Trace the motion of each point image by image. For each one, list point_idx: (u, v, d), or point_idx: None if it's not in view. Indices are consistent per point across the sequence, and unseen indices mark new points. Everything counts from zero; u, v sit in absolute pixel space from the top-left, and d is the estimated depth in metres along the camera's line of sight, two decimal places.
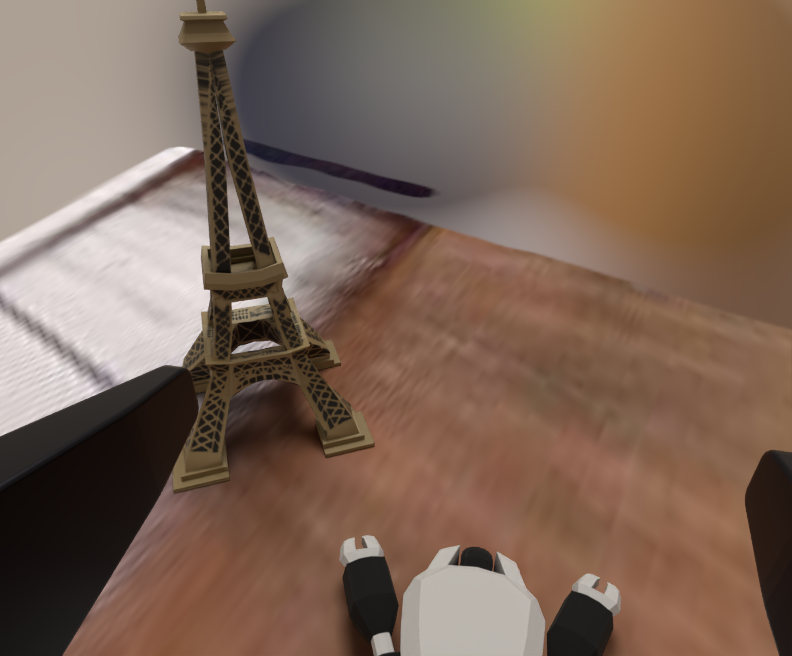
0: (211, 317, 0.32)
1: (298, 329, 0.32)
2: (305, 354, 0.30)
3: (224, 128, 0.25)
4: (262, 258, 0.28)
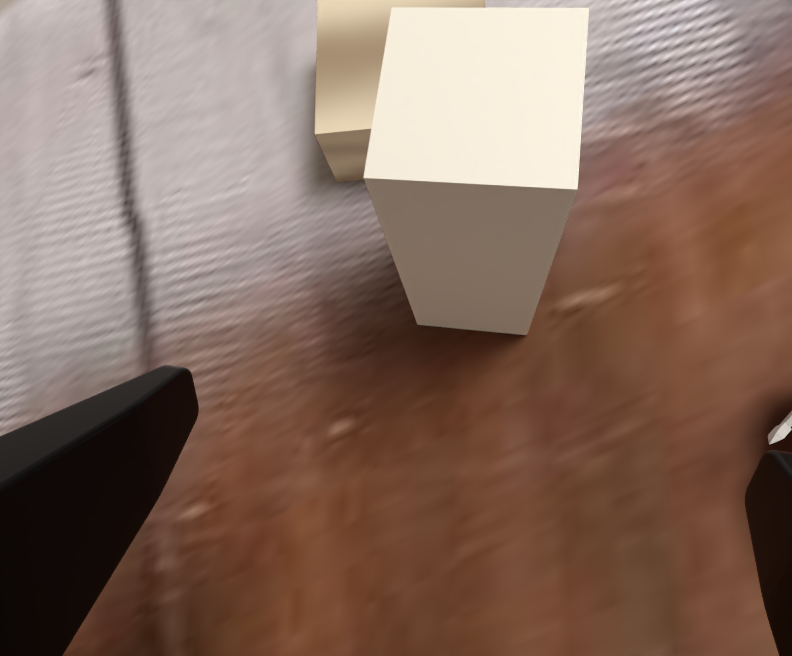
0: None
1: None
2: None
3: None
4: None
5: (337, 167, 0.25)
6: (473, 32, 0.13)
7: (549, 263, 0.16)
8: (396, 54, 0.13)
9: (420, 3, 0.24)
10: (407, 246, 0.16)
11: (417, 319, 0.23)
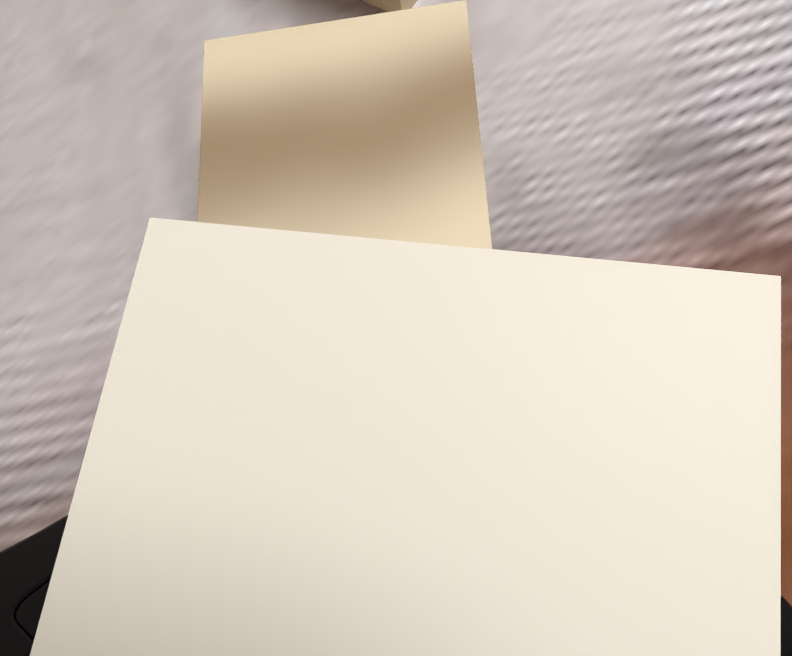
0: None
1: None
2: None
3: None
4: None
5: None
6: (387, 332, 0.04)
7: None
8: (141, 389, 0.04)
9: (366, 57, 0.14)
10: None
11: None
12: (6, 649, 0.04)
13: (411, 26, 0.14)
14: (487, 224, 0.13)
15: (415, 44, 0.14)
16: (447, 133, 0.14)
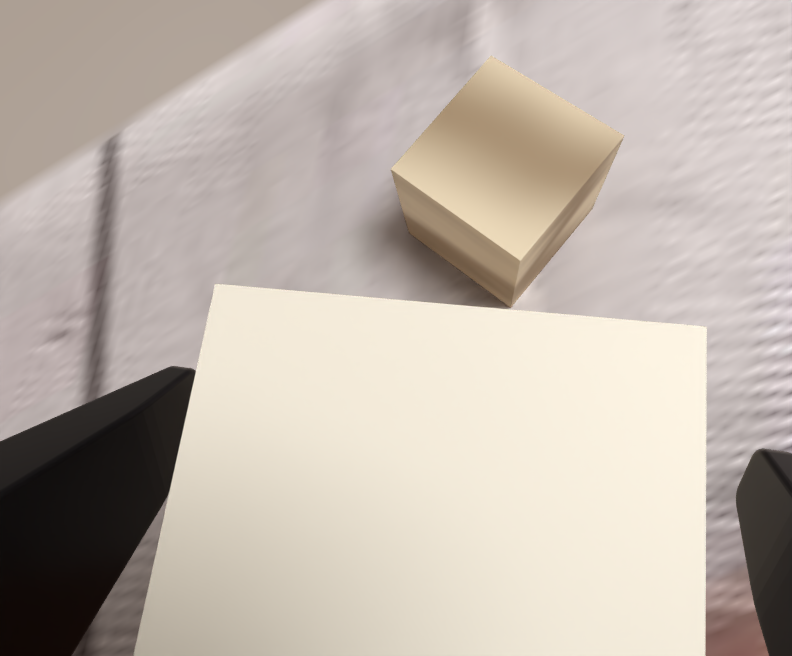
0: None
1: None
2: None
3: None
4: None
5: None
6: (406, 373, 0.05)
7: None
8: (215, 421, 0.05)
9: None
10: None
11: None
12: None
13: None
14: None
15: None
16: None
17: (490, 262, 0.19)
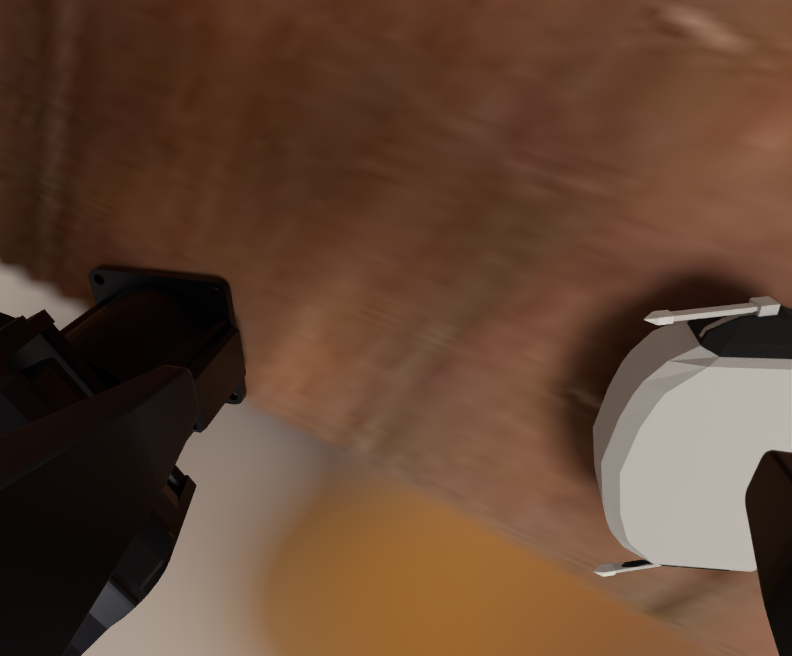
0: None
1: None
2: None
3: None
4: None
5: None
6: None
7: None
8: None
9: None
10: None
11: None
12: None
13: None
14: None
15: None
16: None
17: None
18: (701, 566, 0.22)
